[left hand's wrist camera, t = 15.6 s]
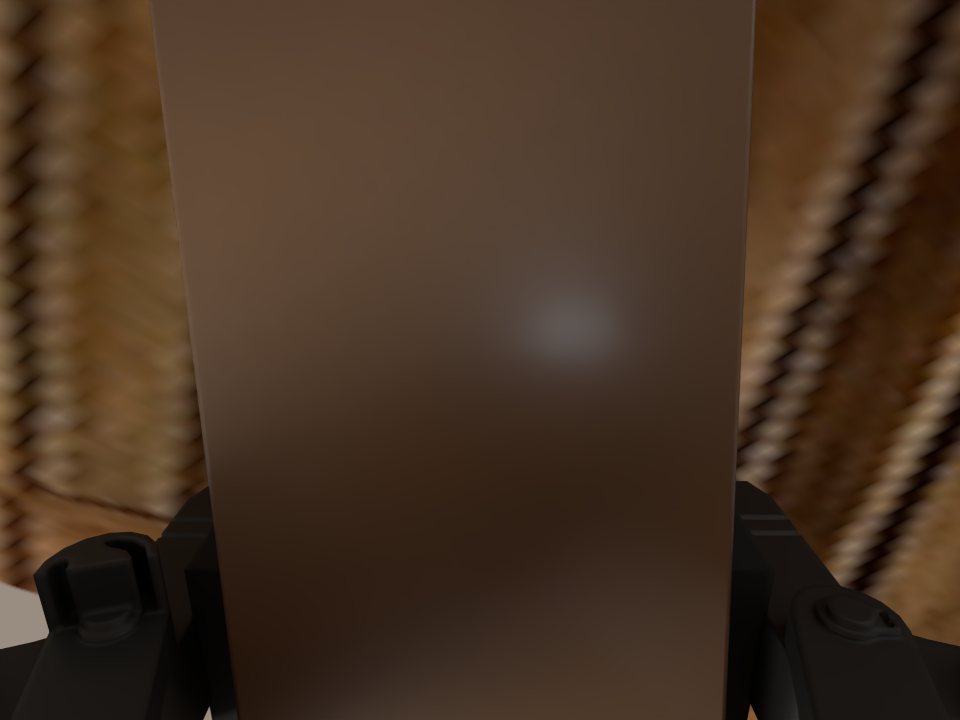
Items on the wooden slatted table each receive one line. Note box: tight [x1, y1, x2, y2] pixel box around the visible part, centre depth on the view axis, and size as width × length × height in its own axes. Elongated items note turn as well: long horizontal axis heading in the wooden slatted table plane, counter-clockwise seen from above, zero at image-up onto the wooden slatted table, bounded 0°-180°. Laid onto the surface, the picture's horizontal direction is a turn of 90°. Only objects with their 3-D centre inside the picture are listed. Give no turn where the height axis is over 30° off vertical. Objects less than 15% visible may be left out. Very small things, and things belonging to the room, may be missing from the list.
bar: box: [149, 0, 757, 720], centre depth 10 cm, size 27×6×9 cm, turn 2°
